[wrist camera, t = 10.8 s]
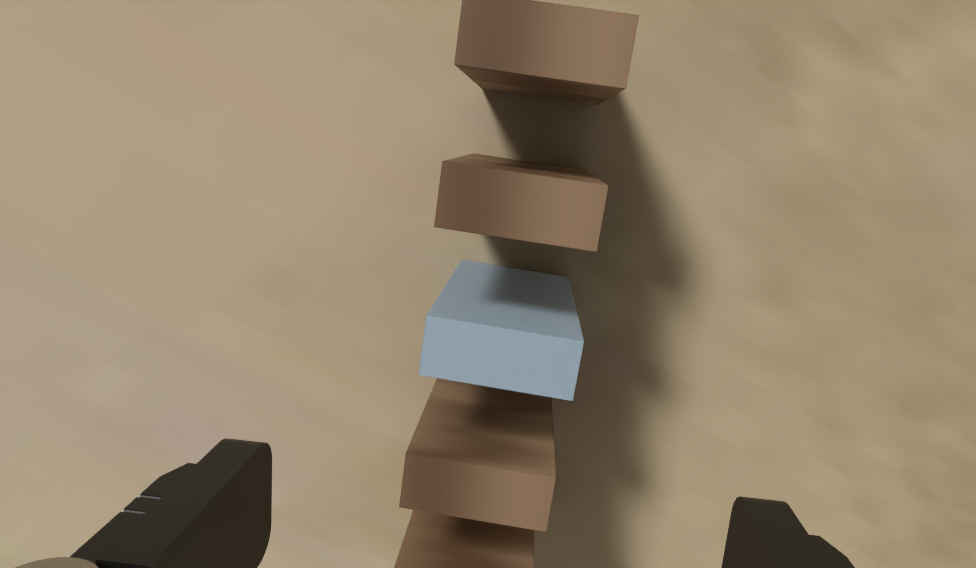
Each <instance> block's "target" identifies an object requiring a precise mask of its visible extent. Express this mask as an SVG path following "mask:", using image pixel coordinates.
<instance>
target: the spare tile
mask: <svg viewBox="0 0 976 568" xmlns="http://www.w3.org/2000/svg"><path fill="white" fill-rule="evenodd" d="M583 345H584V339H583V335H582V331H581V326H580V322H579V318H578V313H577V309H576V304H575V300H574V296H573V291H572V287H571V283H570V278H569V277H565V276H559V275H553V274H546V273H540V272H534V271H528V270H522V269H516V268H510V267H504V266H498V265H491V264H485V263H479V262H473V261H467V260H461V261H460V263H459V264H458V266H457V268H456V269H455V271H454V272H453V274H452V276H451V277H450V279H449V280H448V282H447V284H446V285H445V287H444V288H443V290H442V292H441V293H440V295H439V296H438V298H437V300H436V301H435V303H434V304H433V306H432V308H431V309H430V311H429V312H428V314H427V317H426V324H425V331H424V338H423V346H422V353H421V360H420V368H419V375H423V376H428V377H434V378H440V379H446V380H452V381H458V382H464V383H470V384H475V385H481V386H487V387H493V388H499V389H505V390H511V391H516V392H522V393H528V394H534V395H540V396H546V397H552V398H558V399H563V400H569V401H573V397H574V391H575V386H576V381H577V376H578V371H579V365H580V360H581V355H582V350H583Z"/></svg>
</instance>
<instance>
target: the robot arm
mask: <svg viewBox="0 0 976 568" xmlns="http://www.w3.org/2000/svg"><path fill="white" fill-rule="evenodd" d="M271 498H272V453H271V448H270V446H269V444H268V443H263V442H254V441H245V440H236V439H223V440H221V441H220V442H219V443H218V444H217V445H216V446H215V447H214V448H213V449H212V450H211V451H210V452H209V453H208V454H206V455H205V456H204V457H203V458H202V459H201V460H200V461H199V462H198V463H197V464H192V463H187V464H185V465H183V466H181V467H179V468H177V469H175V470H173V471H171V472H169V473H166V474H164V475H162V476H160V477H159V478H158V479H157V480H156V481H154V482H153V483H152V484H151V485H150V486H149V487H148V488H147V489H145V490H144V491H143V492H142V493H141V495H140V498H139V497H137V498H135V499H134V500H133V501H132V502H131V503H130V504H129V505H128V506H126V507H125V508H124V512H120V513H119V514H117V515H116V516H115V517H114V518H113V519H112V520H111V521H110V522H108V523H107V524H106V525H105V526H104V527H103V528H102V529H101V530H99V531H98V532H97V533H96V534H95V535H94V536H93V537H92V538H90V539H89V540H88V541H87V542H86V543H85V544H84V545H83V546H81V547H80V548H79V549H78V550H77V551H76V552H75V553H74V554H72V555H71V556H70V557H57V558H48V559H43V560H38V561H34V562H30V563H27V564H24V565H21V566H18V567H16V568H257V567H258V565H259V564H260V562H261V560H262V558H263V556H264V554H265V551H266V548H267V545H268V541H269V537H270V531H271ZM722 568H854V566H853V565H852V563H851V562H850V561H849V559H848V558H847V557H846V556H845V555H844V554H842V553H841V552H840V551H838V550H837V549H836V548H834V547H833V546H832V545H831V544H829V543H828V542H827V541H825V540H824V539H823V538H821V537H820V536H815V535H808V533H807V532H806V530H805V529H804V527H803V526H802V524H801V523H800V521H799V520H798V518H797V517H796V515H795V514H794V512H793V511H792V509H791V508H790V506H789V505H788V504H787V503H786V502H783V501H775V500H766V499H757V498H748V497H738V498H737V499H736V500H735V502H734V504H733V507H732V512H731V517H730V523H729V529H728V534H727V540H726V546H725V551H724V557H723V563H722Z"/></svg>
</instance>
